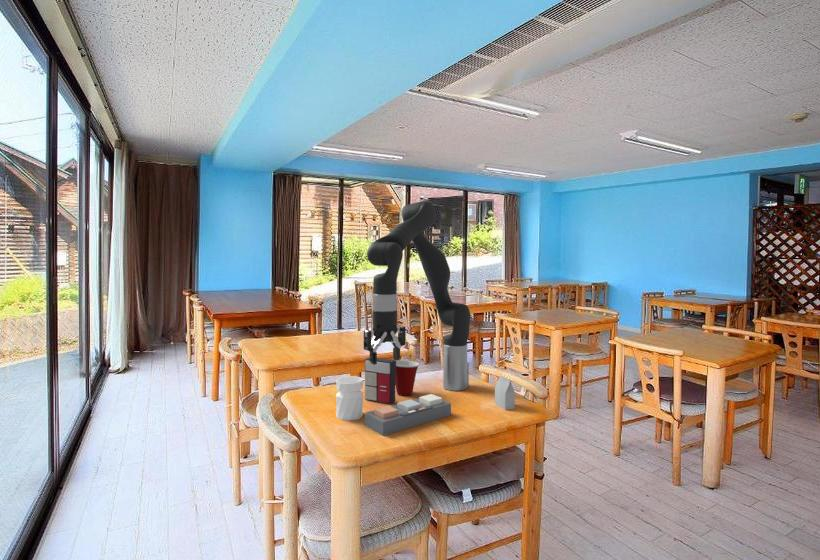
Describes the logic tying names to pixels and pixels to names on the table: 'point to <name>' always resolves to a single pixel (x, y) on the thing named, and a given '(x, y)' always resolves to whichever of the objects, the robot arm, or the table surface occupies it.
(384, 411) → the terracotta key
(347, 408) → the vase
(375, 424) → the keypad housing
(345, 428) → the table surface
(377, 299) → the robot arm
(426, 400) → the cream key
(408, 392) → the plastic cup
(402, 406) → the grey key
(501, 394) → the pale grey block
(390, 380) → the red and grey box
